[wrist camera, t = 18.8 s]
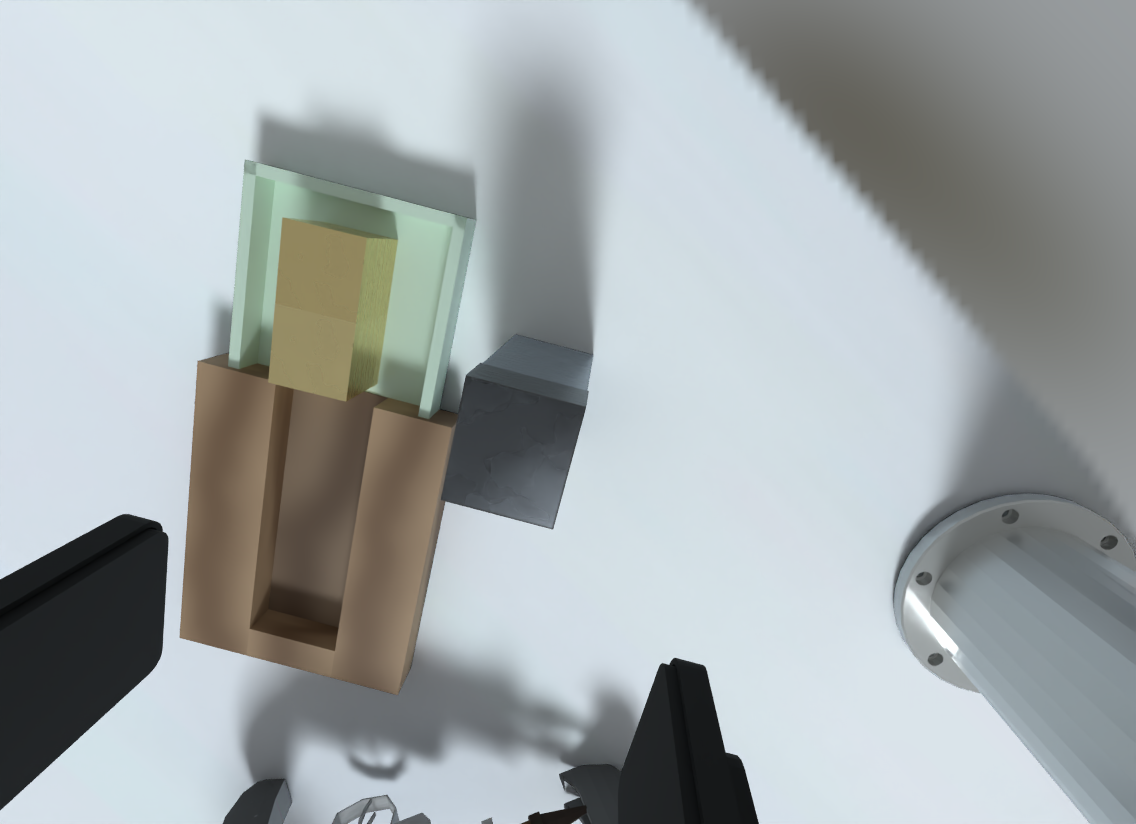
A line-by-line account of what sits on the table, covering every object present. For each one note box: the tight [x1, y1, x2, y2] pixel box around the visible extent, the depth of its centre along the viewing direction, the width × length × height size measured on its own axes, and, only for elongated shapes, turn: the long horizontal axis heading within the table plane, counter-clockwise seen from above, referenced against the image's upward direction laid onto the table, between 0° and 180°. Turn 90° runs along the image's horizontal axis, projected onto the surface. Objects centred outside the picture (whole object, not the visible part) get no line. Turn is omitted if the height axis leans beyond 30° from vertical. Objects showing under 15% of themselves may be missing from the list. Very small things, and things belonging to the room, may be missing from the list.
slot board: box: [180, 353, 458, 695], centre depth 34 cm, size 14×18×2 cm
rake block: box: [441, 335, 593, 529], centre depth 27 cm, size 4×5×11 cm
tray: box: [228, 160, 476, 419], centre depth 30 cm, size 11×11×2 cm
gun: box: [223, 764, 621, 824], centre depth 38 cm, size 5×27×15 cm, turn 97°
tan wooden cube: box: [275, 217, 398, 323], centre depth 29 cm, size 4×4×4 cm
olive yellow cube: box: [268, 303, 387, 402], centre depth 30 cm, size 4×4×4 cm
